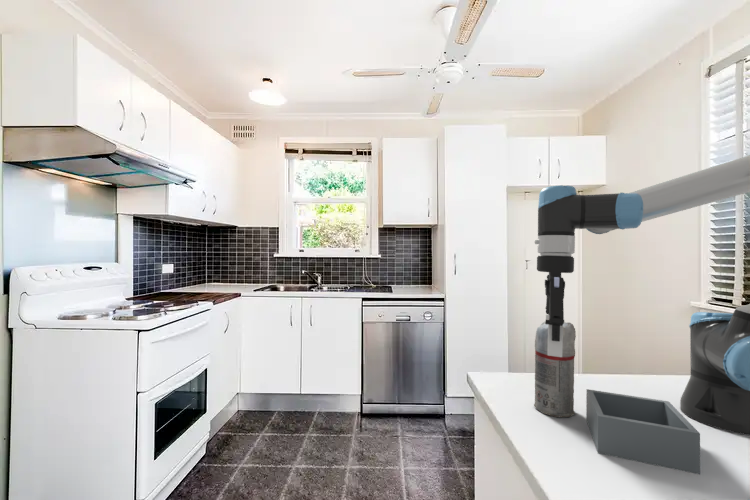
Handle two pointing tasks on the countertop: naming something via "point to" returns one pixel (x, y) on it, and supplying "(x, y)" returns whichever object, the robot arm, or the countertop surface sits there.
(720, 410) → the robot arm
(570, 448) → the countertop surface
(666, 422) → the bin
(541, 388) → the white paper tall sack
